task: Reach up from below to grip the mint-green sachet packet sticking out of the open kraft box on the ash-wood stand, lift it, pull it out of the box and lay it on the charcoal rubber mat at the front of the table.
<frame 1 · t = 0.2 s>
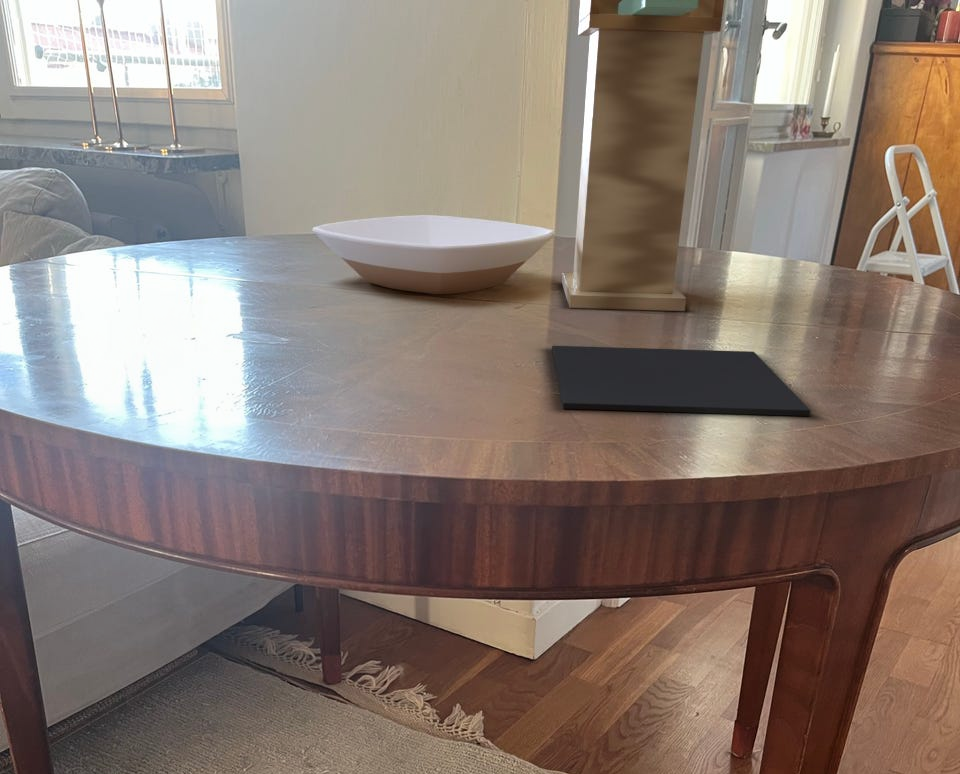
bowl: (435, 284, 101), on the table
stand: (619, 296, 96), on the table
mat: (667, 380, 69), on the table
packet: (652, 16, 81), point 23 cm above the table, touching stand
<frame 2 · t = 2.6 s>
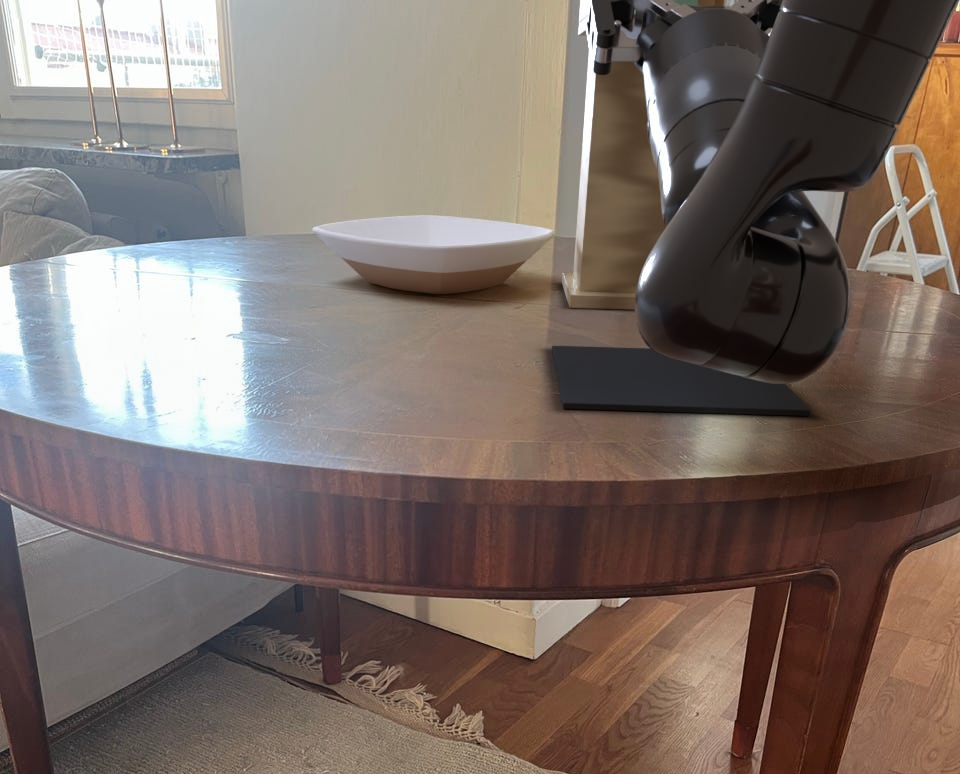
nothing on the table moved.
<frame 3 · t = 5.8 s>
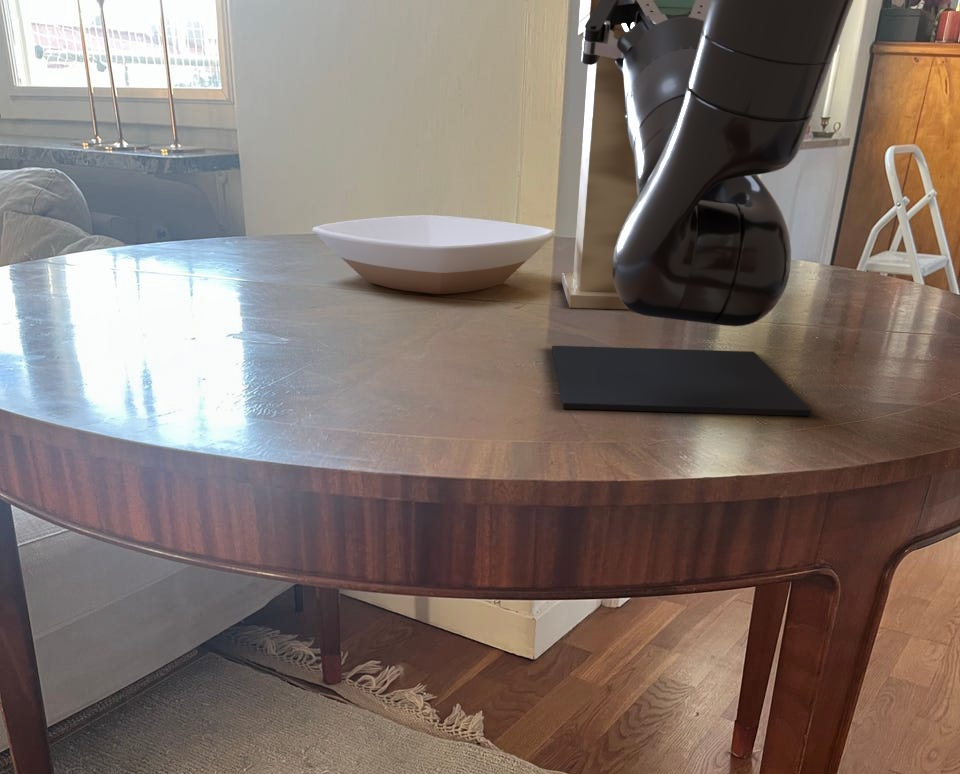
packet: (653, 16, 81), point 24 cm above the table, touching gripper, stand
everything else where it was.
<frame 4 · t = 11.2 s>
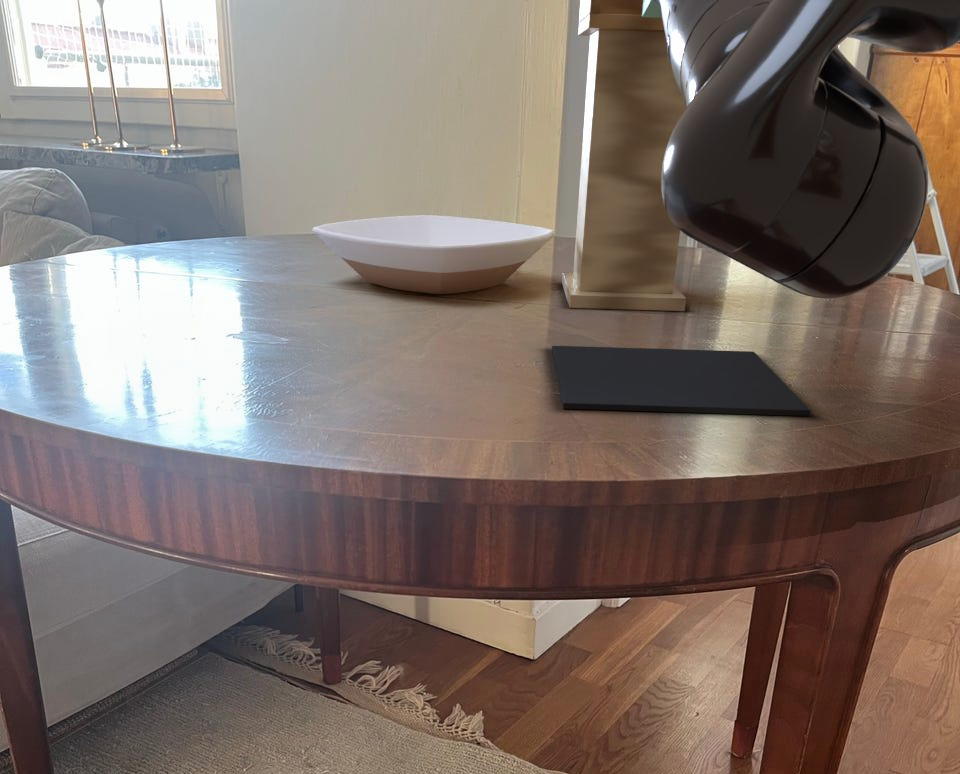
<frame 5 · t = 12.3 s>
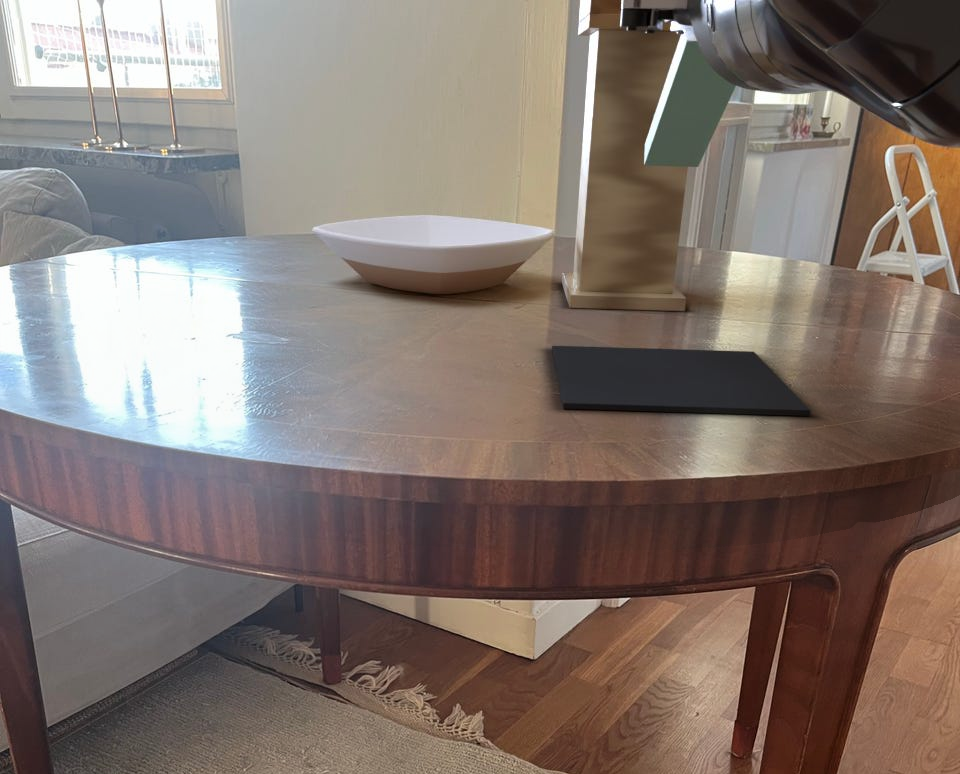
hand: (720, 10, 55), 22 cm above the table, tool horizontal, fingers closed on packet, 4 cm apart
packet: (701, 91, 60), point 18 cm above the table, tilted 29°, touching gripper
everything else where it was.
when the fingers open (9 cm above the table, at t = 16.5 s): packet drops 5 cm, resting on mat.
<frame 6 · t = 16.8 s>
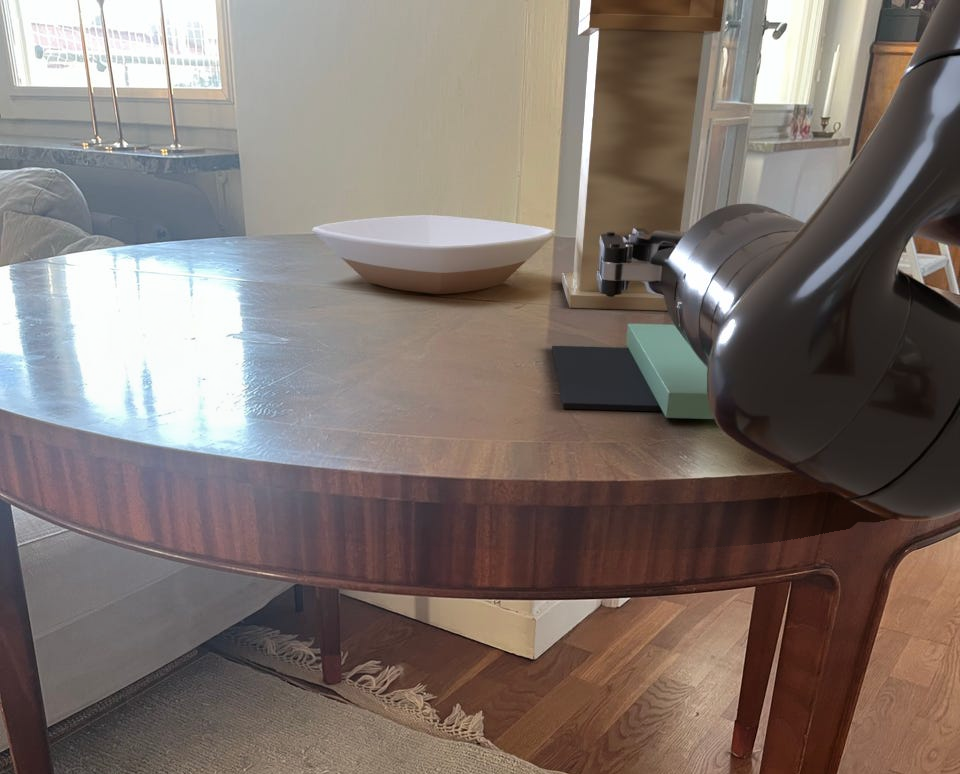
hand: (695, 247, 61), 9 cm above the table, tool horizontal, fingers open, 7 cm apart
packet: (671, 377, 68), resting on mat
everything else where it was.
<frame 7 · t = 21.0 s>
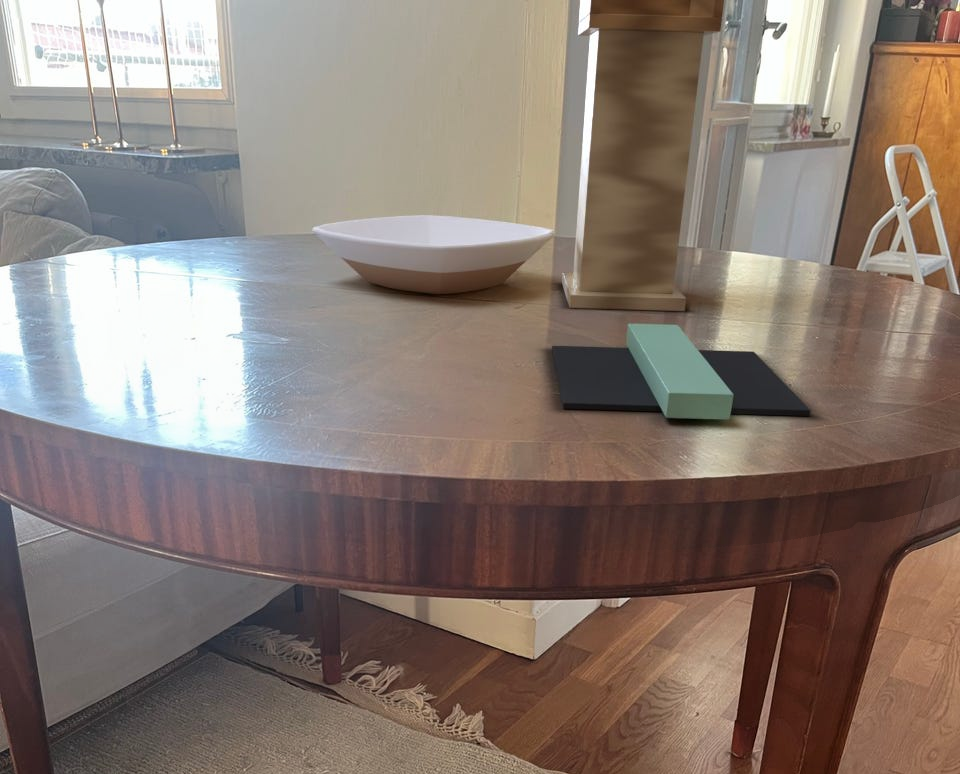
nothing on the table moved.
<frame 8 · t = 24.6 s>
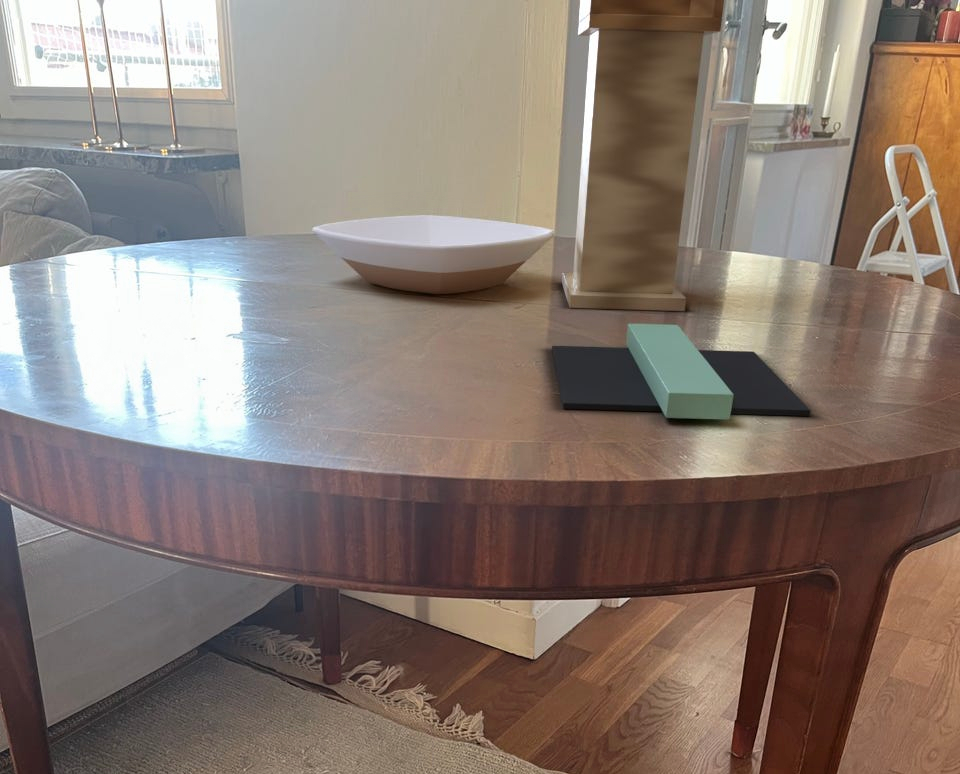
nothing on the table moved.
at the end: packet inside the target area on the mat (0.7 cm from its centre), point 0.4 cm above the mat's base; packet touching mat; the gripper is holding nothing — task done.
